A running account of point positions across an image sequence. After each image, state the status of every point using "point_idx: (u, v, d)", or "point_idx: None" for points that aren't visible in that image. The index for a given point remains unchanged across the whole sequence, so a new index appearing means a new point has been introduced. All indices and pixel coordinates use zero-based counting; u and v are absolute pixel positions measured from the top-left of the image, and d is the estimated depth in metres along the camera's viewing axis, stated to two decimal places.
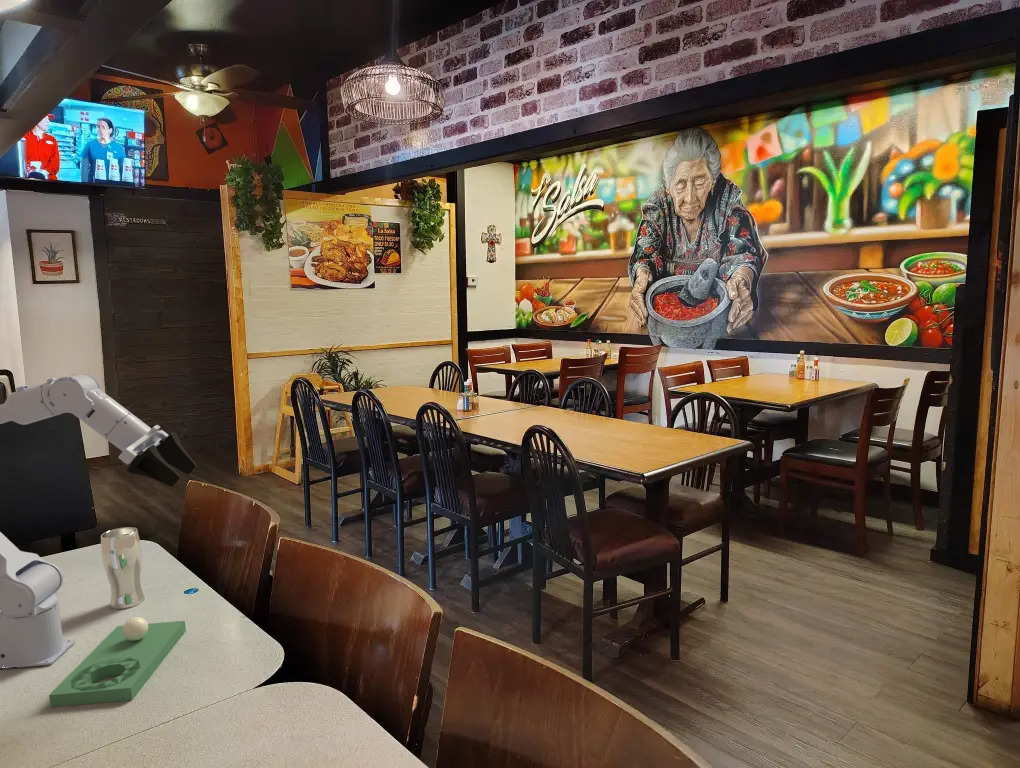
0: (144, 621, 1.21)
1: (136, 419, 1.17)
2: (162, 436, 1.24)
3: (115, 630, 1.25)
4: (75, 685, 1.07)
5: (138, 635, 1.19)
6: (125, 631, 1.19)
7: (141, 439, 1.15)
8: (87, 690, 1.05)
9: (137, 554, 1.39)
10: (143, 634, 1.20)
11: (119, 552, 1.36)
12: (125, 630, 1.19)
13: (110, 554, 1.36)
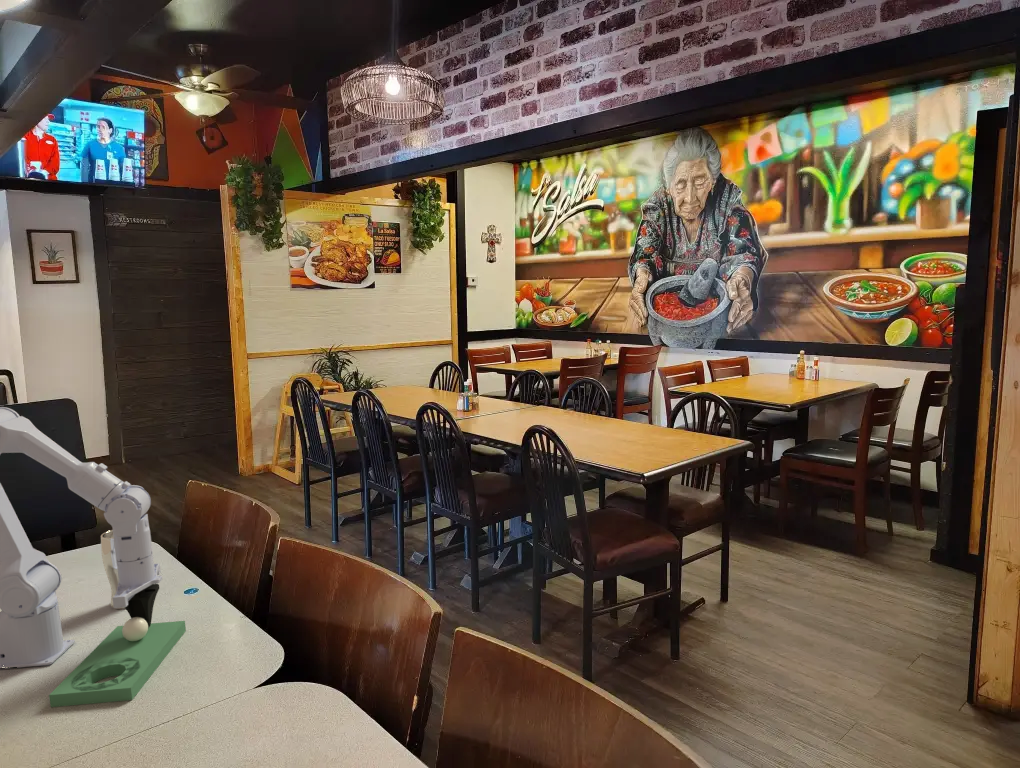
0: (144, 621, 1.21)
1: (151, 562, 1.22)
2: None
3: (115, 630, 1.25)
4: (75, 685, 1.07)
5: (138, 636, 1.19)
6: (125, 632, 1.19)
7: (141, 587, 1.19)
8: (87, 690, 1.05)
9: None
10: (143, 634, 1.20)
11: None
12: (125, 631, 1.19)
13: (110, 554, 1.36)
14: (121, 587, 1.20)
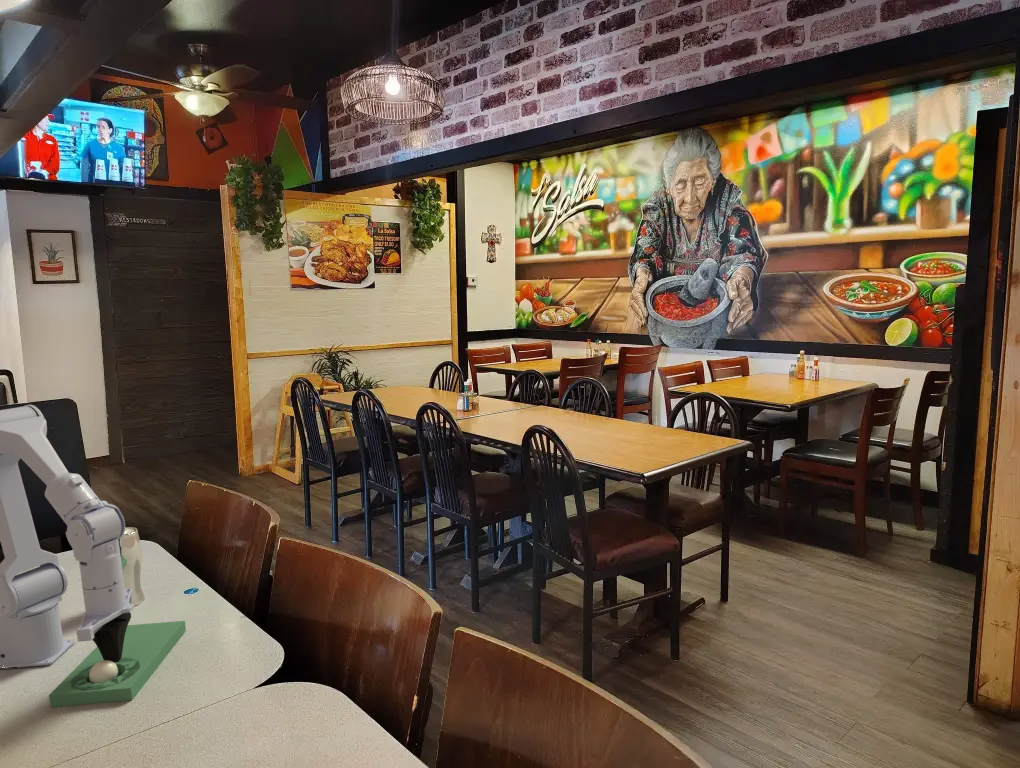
0: (117, 668, 1.12)
1: (121, 589, 1.11)
2: None
3: None
4: (75, 685, 1.07)
5: (106, 663, 1.10)
6: None
7: (109, 617, 1.08)
8: (87, 690, 1.05)
9: (137, 554, 1.39)
10: (110, 666, 1.10)
11: None
12: (96, 664, 1.11)
13: None
14: (87, 617, 1.08)
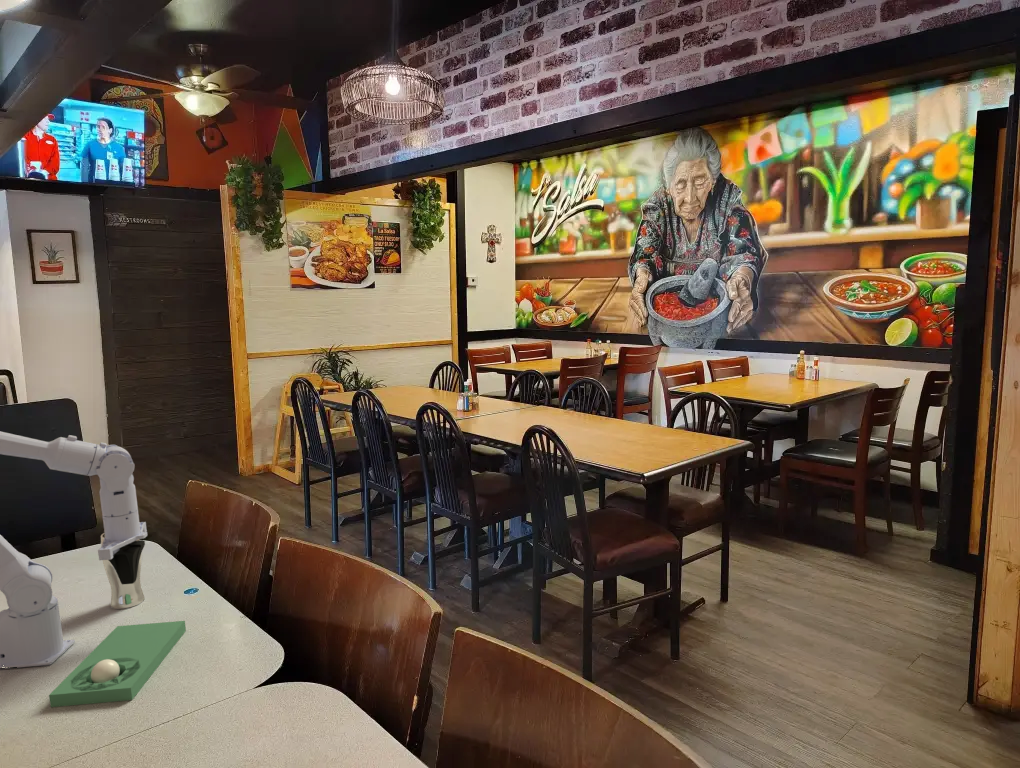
0: None
1: (136, 518, 1.26)
2: None
3: (115, 630, 1.25)
4: (75, 685, 1.07)
5: (110, 662, 1.10)
6: None
7: (126, 542, 1.23)
8: (87, 690, 1.05)
9: None
10: (113, 666, 1.10)
11: None
12: (99, 662, 1.11)
13: None
14: (107, 541, 1.23)
